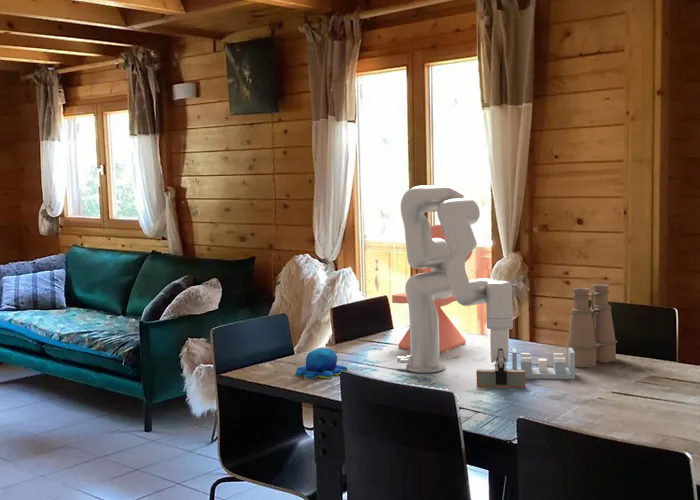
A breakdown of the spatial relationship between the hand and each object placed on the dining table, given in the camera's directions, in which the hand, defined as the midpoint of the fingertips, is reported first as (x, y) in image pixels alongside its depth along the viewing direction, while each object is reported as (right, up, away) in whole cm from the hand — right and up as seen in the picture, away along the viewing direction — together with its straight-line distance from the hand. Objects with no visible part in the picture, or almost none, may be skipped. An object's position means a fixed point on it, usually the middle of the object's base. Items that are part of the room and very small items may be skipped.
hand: (501, 380), depth 224 cm
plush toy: (-54, -2, +24) cm, 59 cm away
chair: (-13, +2, +60) cm, 61 cm away
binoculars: (+35, +1, +26) cm, 44 cm away
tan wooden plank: (0, -2, 0) cm, 2 cm away
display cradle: (+15, 0, +11) cm, 18 cm away
